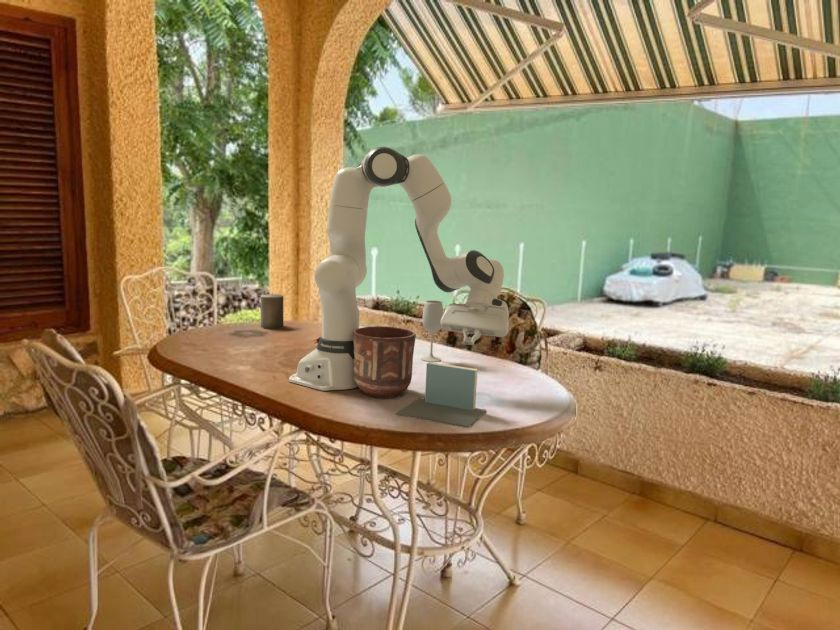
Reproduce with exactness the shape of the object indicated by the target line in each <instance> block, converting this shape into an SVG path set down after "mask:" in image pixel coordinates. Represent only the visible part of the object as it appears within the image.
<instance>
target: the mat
mask: <svg viewBox="0 0 840 630" xmlns="http://www.w3.org/2000/svg"><path fill="white" fill-rule="evenodd" d="M486 412H487V409H483V408H478V407H475V409H474V410H467V409H462V408H456V407H450V406H445V405H439V404H433V403H427V402H425V398H421V397H418V398H416V399H415V400H413V401H412V402H410V403H408V404H407V405H406V406H405V407H402V408H401V409H399V410H398V411H397V412H395V415H397V416H403V417H408V418H414V419H419V420H424V421H430V422H434V423H439V424H445V425H451V426H456V427H460V428H461V427H463V428H467V429H469V428H470V427H471V426H472V425H473V424H475V422H476V421H477V420H478V419H480V417H482V416H483V415H484V414H486Z"/></svg>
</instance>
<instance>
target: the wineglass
mask: <svg viewBox="0 0 840 630" xmlns="http://www.w3.org/2000/svg"><path fill="white" fill-rule="evenodd" d="M422 312H423V313H422V317H421V319H422V320H421V321H422V325H423V327H424V329H425V330H426V331H427V333H429V334H430V335H429V336H430V350H429V355H426V356H422V357H421V358H420V360H421V361H424V362H427V363H429V362H432V363H438V362H441V361H442V358H440V357H438V356H434V355H433V349H434V348H433V345H434V344H433V343H434V336H435V334H436V333H437V332H438V331H440V330H441V328H442V326H441V322H440V321H441V318H442V316H443V314H444V306H443V302H442V301H440V300H426V301H424V305H423V310H422Z"/></svg>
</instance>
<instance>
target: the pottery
mask: <svg viewBox="0 0 840 630" xmlns="http://www.w3.org/2000/svg"><path fill="white" fill-rule="evenodd" d="M416 338H417V337H416V332H414V331H412V330H410V329H407V328H403V327H396V326H395V327H394V326H380V325H379V326H376V325H375V326H365V327H359V329H356V330H354V332H353V341H354V357H355V359H354V379H355V382H356V384H357V386H358V387H357V388H359V390H360V391H361V392H362V393H363V394H365V395H366V396H369V397H373V398H380V399H381V398H382V399H388V398H396V397H400V396H402V395H403V393H404V392H406V391H407V390H408V388H409V387H410V384H411V382H412V378H413V377H412V376H413V363H414V362H413V361H414V351H415V344H416Z"/></svg>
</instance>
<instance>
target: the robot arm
mask: <svg viewBox="0 0 840 630" xmlns="http://www.w3.org/2000/svg"><path fill="white" fill-rule="evenodd" d="M393 185H399V186H401V187H402V189H404V190H405V192H406V194H407V195H408V197H409V200H410V201H411V203H412V205H413V209H414V211H415V218H414V227H415V230H416V233H417V236H418V238H419V241H420V244H421V246H422V249H423V251H424V255H425V256H426V259H427V262H428V264H429V267H430V270H431V276H432V280H433V282H434V284H435V285H436V287H437V288H438V289H440V291H442V292H444V293H453V292H455V291H458V290H459V289H461V288H463V287H467V286H468V288H470V291H469V292H468V296H467V298H466V302H465V303H457V302H452V303H451V304H448V305H446V307H445V310H444V312H443V316H442V318H441V321H440V322H441V326H442V327H441V328H442V329H443V330H444V331H449V332H459V333H463V339H462V343H463V345H466V346H467V345H468V346H474V344H475V342H476V341H477V340H479V339H480V338H481V335H482V336H488V337H489V336H490V337H498V338H505V337H506V336H508V333H509V328H510V321H509V316H510V311H509V307H508V304H507V302H506V301H504V300H502V299H499V298H498V296H499V294H500V293H501V290H502V287H503V282H504V275H505V273H504V267H503V265H502V264H501V262H499V261H498V260H497V259H493V258H488V257H486V256H485V255H484V254H483V253H481V252H480V251H477V250H475V249H474V250H473V249H472V250H469V251H466V252H464V253H463V252H462V253H460V254H458V255H456V256H453V257H450V258H449V257H448V256H447V255H446V253H445V250H444V248H443V245H442V243H441V240H440V236H439V235H438V228H439V226H440V224H441V222H442V221H443V220H444V219H445V218H446V216H447V215H448V214H449V211H450V209H451V206H452V196H451V192H450V190H449V189H448V186H447V185H446V183H445V181H444V180H443V178H442V176H441V174H440V172H439V171H438V169H437V168H436V166H435V165H434V164H433V162H432V161H431V160H430V159H429V158H428V157H427V156H426V155H424V154H421V153H420V154H419V153H418V154H417V153H416V154H412V155H410V156H408V157H406V156H404V155H403V154H401V153H400V152H398V151H397V150H395V149H393V148H391V147H389V146H388V147H387V146H377V147H375V148H372V149H370V150H369V151H368V152H367V153H366V155H365V156H364V158H363V159H362V161H361V162H360V163H359V165H358V166H357V167H354V166H350V167H349V166H348V167H343V168H341V169H339V170H338V171H337V172H336V173H335V176H334V180H333V183H332V187H331V191H330V197H329V198H330V199H329V206H328V217H327V226H326V233H327V236H328V240H329V241H328V243H329V254H330V255H329V256H327V257H326V258H324V259H323V260H321V262H320V263H319V264H318V265H317V267H316V269H315V270H314V281H315V285H316V286H317V288H318V295H319V299H320V306H321V336H320V337H318V338H317V339H313V341H314V342H313V344H314V345H315V344H317V345H316V348H315V349H313V350H312V351H310V353H309V352H308V354H306V355H305V356H304V357H302V358H301V359H300V360H299V362H298V363H297V369H296V373H293V374H292V375H290V376H288V377H289V378H288V382H289V383H293V384H296V385H297V384H298V385H300V386H304V387H308V388H312V389H315V390H319V391H322V392H323V391H324V392H325V391H326V392H327V391H335V390H350V389H355V388H359V387H358V386H357V384H356V382H355V379H354V359H355V357H354V341H353V332H354V330H356V329H359V328H360V317H361V316H360V315H361V313H360V310H359V307H358V301H357V294H356V293H357V292H356V288H358V287H359V286H361V284H362V283H363V282H364V281H365V279H366V276H367V274H368V273H367V272H368V267H367V263H366V262H367V257H366V256H367V255H366V230H367V220H368V211H369V210H368V209H369V199H370V195H371V193H372V190H373V189H375V188H380V187H381V188H386V187H388V186H389V187H390V186H393ZM469 334H473V335H472V336H471V337H470V336H469Z"/></svg>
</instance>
